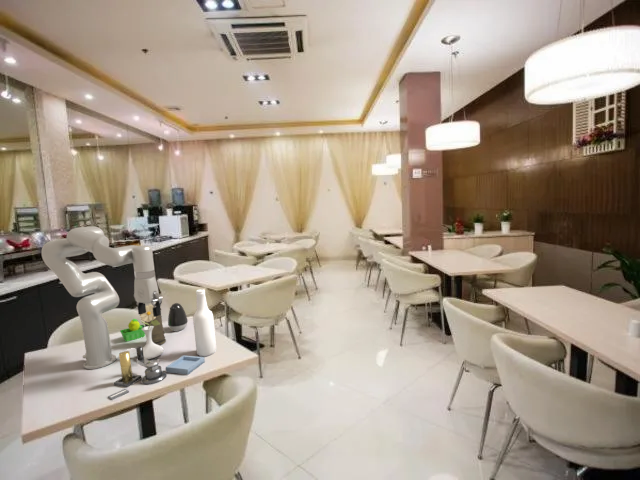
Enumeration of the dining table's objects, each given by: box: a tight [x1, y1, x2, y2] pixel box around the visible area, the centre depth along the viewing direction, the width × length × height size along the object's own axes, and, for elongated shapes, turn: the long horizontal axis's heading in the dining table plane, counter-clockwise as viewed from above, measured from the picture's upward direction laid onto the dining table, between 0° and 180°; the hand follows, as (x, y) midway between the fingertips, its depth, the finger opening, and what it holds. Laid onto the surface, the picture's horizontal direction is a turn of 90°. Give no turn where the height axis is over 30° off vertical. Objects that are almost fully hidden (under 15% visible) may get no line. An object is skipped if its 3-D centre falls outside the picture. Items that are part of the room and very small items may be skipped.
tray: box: [165, 354, 206, 375], centre depth 146 cm, size 11×11×2 cm
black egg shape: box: [167, 302, 189, 332], centre depth 192 cm, size 10×10×15 cm
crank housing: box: [113, 365, 167, 388], centre depth 137 cm, size 17×12×4 cm
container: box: [144, 307, 167, 346], centre depth 174 cm, size 9×9×18 cm
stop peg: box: [118, 350, 133, 383], centre depth 136 cm, size 4×4×12 cm
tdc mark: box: [107, 388, 130, 401], centre depth 127 cm, size 6×3×1 cm, turn 143°
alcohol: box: [192, 288, 217, 358], centre depth 158 cm, size 9×9×30 cm
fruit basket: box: [120, 318, 146, 342], centre depth 183 cm, size 11×9×11 cm
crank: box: [135, 345, 159, 371], centre depth 140 cm, size 13×4×7 cm, turn 53°
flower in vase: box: [139, 304, 165, 360], centre depth 158 cm, size 13×11×25 cm
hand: (149, 314), depth 145 cm, fingers open, 9 cm apart
